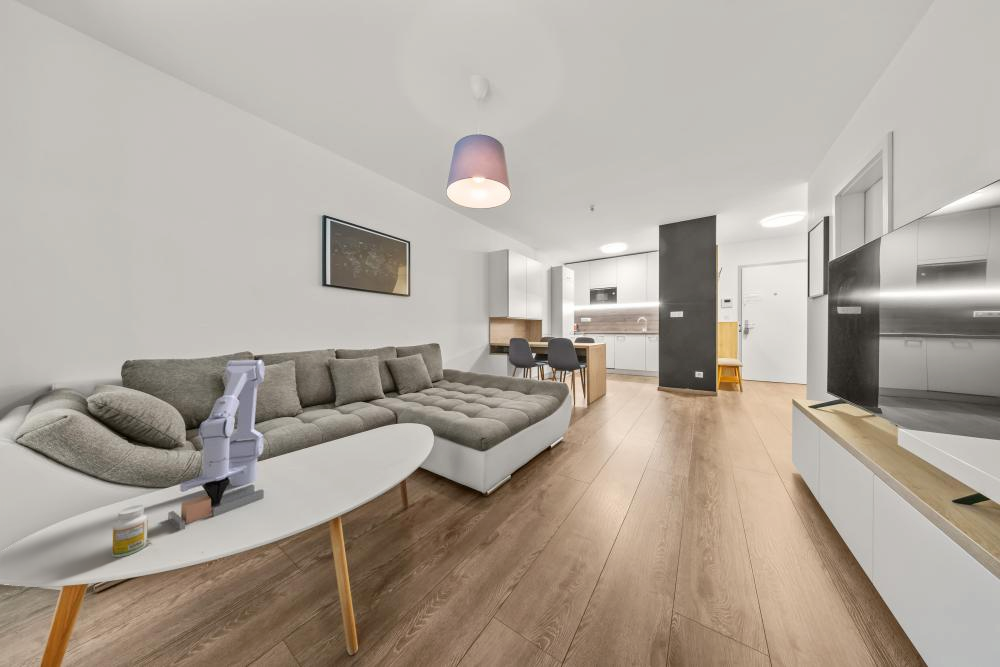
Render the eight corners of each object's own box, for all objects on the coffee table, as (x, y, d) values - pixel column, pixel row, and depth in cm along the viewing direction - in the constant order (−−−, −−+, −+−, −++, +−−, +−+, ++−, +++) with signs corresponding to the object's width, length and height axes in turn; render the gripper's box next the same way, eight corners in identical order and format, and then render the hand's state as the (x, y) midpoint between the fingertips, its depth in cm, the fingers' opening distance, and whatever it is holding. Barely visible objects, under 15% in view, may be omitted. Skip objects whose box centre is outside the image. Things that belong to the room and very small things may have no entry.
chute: (167, 523, 85) (168, 510, 85) (261, 490, 104) (261, 480, 104) (179, 534, 80) (179, 521, 80) (275, 498, 99) (275, 487, 99)
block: (181, 519, 85) (181, 502, 86) (205, 510, 90) (205, 494, 90) (186, 523, 83) (186, 506, 83) (210, 514, 87) (211, 498, 88)
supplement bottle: (123, 545, 76) (125, 505, 76) (152, 540, 78) (154, 501, 78) (105, 560, 71) (106, 517, 71) (136, 554, 73) (138, 512, 73)
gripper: (186, 470, 82) (185, 522, 82) (252, 454, 95) (251, 498, 94) (178, 465, 86) (176, 515, 85) (242, 450, 98) (241, 493, 98)
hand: (215, 506), depth 90 cm, fingers closed
